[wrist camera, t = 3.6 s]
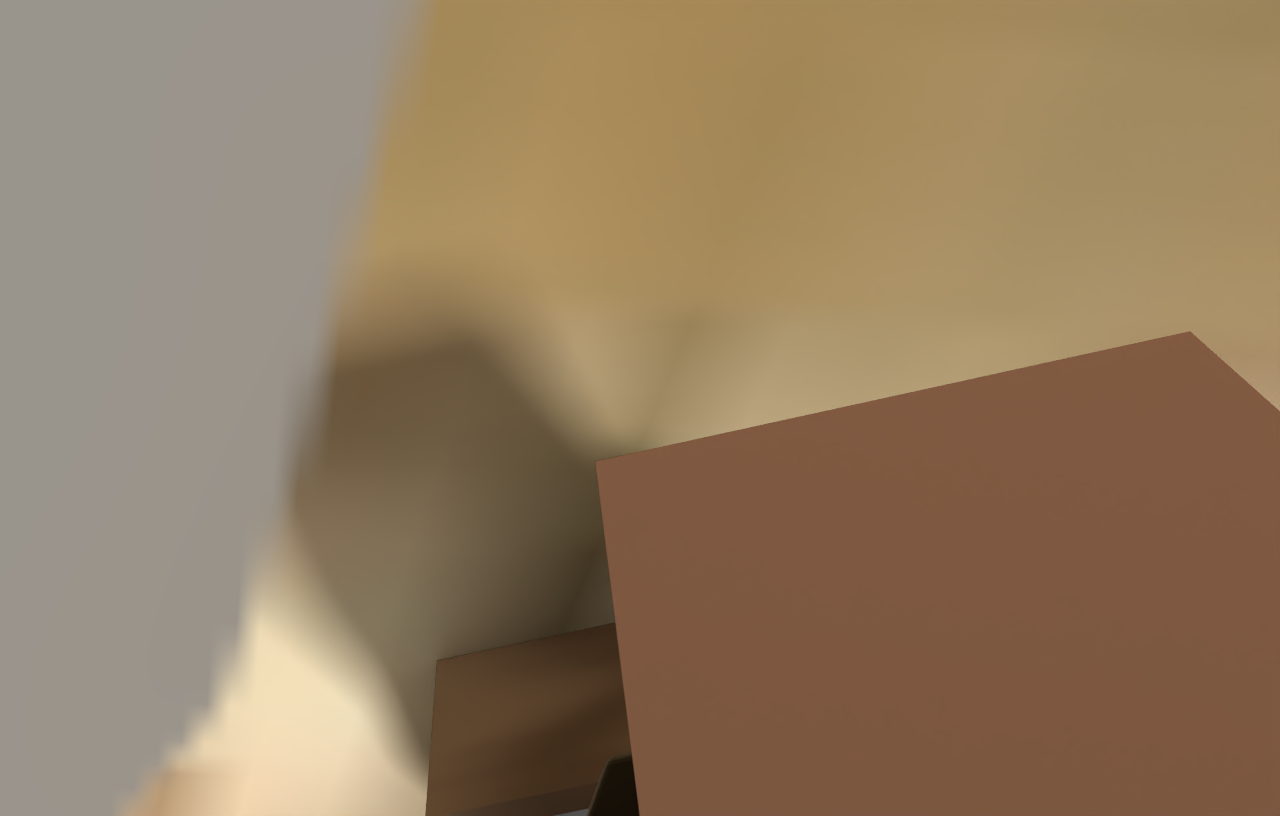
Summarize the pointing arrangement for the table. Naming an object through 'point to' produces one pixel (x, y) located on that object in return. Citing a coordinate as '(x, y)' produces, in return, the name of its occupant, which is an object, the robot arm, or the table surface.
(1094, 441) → the terracotta cube
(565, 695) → the walnut base block
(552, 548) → the table surface
